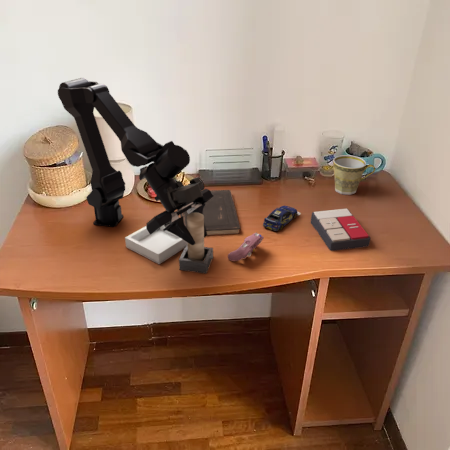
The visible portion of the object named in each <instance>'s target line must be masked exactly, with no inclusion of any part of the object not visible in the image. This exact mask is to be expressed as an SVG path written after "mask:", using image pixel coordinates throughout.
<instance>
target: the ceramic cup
mask: <svg viewBox="0 0 450 450" xmlns="http://www.w3.org/2000/svg"><path fill="white" fill-rule="evenodd" d="M332 165H333V168H332V169H333V174H334V191H335V192H336V193H338V194H339V195H346V196H348V195H349V196H351V195H353V194H355V193H357V190H358V187H359V185H360V182H361V181H363V180H365V178H367V177H368V176H370V175H372V174H373V173H375V172H376V167H375V165H373V164H371V163H369V164H367V161H366V160H365V159H363V158H361V157H359V156H357V155H349V154H343V155H337V156H335V157H334V158H333V160H332ZM368 168H373V170H372V171H371V172H370V173H368V174H366V175H364V176H363V174H364V172H365V171H366V170H367V169H368Z"/></svg>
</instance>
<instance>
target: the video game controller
mask: <svg viewBox="0 0 450 450" xmlns="http://www.w3.org/2000/svg"><path fill="white" fill-rule="evenodd" d="M263 240H264V236H263V235H262V234H260V233H258V232H257V231H256V232H254V233H252V234H251V235H249V236H247V237H245V238H244V240H243V242H242V243H241V245H240V246H239V247H237V249H235V250H233V251H230V252H229V253H228V254H227V258H228V260H229V261H231V262H238V261H241V260H245V259H246V258H247V257H251V255H252V253H254V252H255V250H256V248H257V246H259V245H260V244H261V243H262V241H263Z"/></svg>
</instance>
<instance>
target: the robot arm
mask: <svg viewBox="0 0 450 450" xmlns="http://www.w3.org/2000/svg"><path fill="white" fill-rule="evenodd" d="M57 95H58V98H59V100H60V102H61V104H62V106H63V109H64V110H65V111H66V112H67V113H68V114H70V116H72V117H73V118H74V120H75V123H76V126H77V130H78V133H79V135H80V138H81V141H82V144H83V146H84V150H85V152H86V155H87V158H88V161H89V164H90V167H91V170H92V171H91V172H92V173H91V177H90V187H91V191H90V193H88V194H87V196H86V200H87V203H88V205H89V206H91V207H93V211H94V218H95V220H94V221H93V222H92V223H93V225H94V226H101V227H102V226H103V227H108V228H109V227H110V228H114V227H116V226H117V225H118V224H119V222H120V221H121V220H122V218H123V217H124V214H123V213H122V205H120V201H119V200H122V199H123V198H124V194H125V191H126V181H125V180H124V178H123V173H122V171H121V170H117V169H115V168H114V167H113V166H112V165H111V162H110V158H109V155H108V152H107V150H106V148H105V147H106V146H105V144H104V141H103V138H102V135H101V132H100V129H99V126H98V123H97V120H96V116H95V114H94V111H95V110H96V111H97V112H98V114H99V115H100V116H101V118H102V119H103V120H104V121H105V123H106V124H107V126H109V128H110V130H111V131H112V132H113V134H115V136H116V137H117V139H118V140H119V141H120V149H121V152H122V154H123V155H124V157H125V159H126V160H127V162H128V163H129V164H130V165H131V166H132V167H137V168H139V167H141V166H143V167H141V168H140V169H139V175H138V176H139V177H138V179H139V180H140V181H142V180H144V179H145V180H146V182H147V183H148V184H149V186H150V188H151V189H152V191H153V192H154V193H155V197H154V200H155V201H156V202H158V201H159V202H160V203H161V205H162V206H163V208H164V209H165V210H164V211H162V212H160V213H158V214H156V215H155V216H154V217H152V218H151V219H150V220H148V221H147V222H146V227H147V230H148V232H149V233H150V235H151V234H153V233H155V232H157V231H158V230H160V227H162V226H163V225H164V226H165V228H164V229H163V231H166V230H167V231H169V232H171V233H173V234H175V235H176V236H178V237H180V238H181V239H183V240H185V241H186V242H188V243H189V244H191V245H194V244H195V241H194V239H193V237H192V236H191V234H190V232H189V231H188V229H187V228H186V226H185V225H184V220H183V216H182V217H180V215H181V214H182V213H184V212H186V211H187V213H188V214H190V213H195V212H196V213H201V214H203V208H204V206H205V205H206V204H205V203H206V202H207V201H208V200H210V199H211V198H212V197H214V196H213V194H212V193H211V191H212V190H211V189H208V188H205V185H204V182H203V180H201V178H200V177H199V176H197V177H194V178H192V179H189V184H186V185H184V183H183V182H181V181H180V180H179V181H176V179H175V177H177V175H178V174H180V173H181V172H182V171H183V170H184V169H185V168H186V167H187V166H189V164H190V162H191V157H190V154H189V152H188V151H187V149H185V148H184V147H182V146H180V145H178V144H175V143H174V142H173V140H170V141H168V142H166V143H164V145H163V144H161V143H159V142H157V141H156V140H155V139H154V138H153V137H152V136H151V135H150V134H149V133H148V132H147V131H145V130H143V129H140V128H138V127H137V126H136V125H135V124H134V122H133V121H132V120H131V118H130V117H129V116H128V115H127V114H126V112H125V111H124V109H122V107H121V106H120V104H119V103H118V102H117V101H116V99H115V98H114V97H113V96H112V95H111V93H110V89H109V88H108V86H107V85H106V84H104V83H98V82H97V81H93V80H92V81H89V80H88V79H87V78H85V77H80V78H75V79H72V80H68V81H64V82H61V83H59V87H58V89H57ZM182 207H183V208H182ZM186 218H187V216H186ZM206 237H208V235H207V231H206V227H205V223H204V239H206Z"/></svg>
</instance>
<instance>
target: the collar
mask: <svg viewBox="0 0 450 450" xmlns="http://www.w3.org/2000/svg"><path fill="white" fill-rule="evenodd" d="M213 258H214V248H213V247H210V246H209V247H208V246H204V261H199V260H191V259H188V245H186V247H185V248H184V249H183V251H182V252H181V255H180V256H179V259H178V269H179V271H184V272H190V273H191V272H192V273H199V274H205V275H206V274H207V273H208V271H209V268H210V266H211V265H212V264H211V263H212V261H213Z"/></svg>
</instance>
